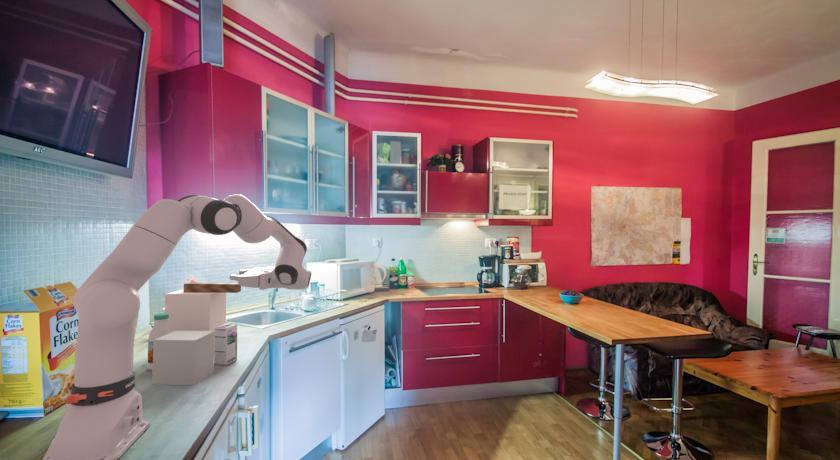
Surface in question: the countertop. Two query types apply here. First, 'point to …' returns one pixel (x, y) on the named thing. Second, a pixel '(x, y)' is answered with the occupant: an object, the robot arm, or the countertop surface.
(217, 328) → the syrup box
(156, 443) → the countertop surface
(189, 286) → the walnut rail
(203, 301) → the white box
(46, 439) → the countertop surface
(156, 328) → the milk bottle
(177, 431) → the countertop surface
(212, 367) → the box
